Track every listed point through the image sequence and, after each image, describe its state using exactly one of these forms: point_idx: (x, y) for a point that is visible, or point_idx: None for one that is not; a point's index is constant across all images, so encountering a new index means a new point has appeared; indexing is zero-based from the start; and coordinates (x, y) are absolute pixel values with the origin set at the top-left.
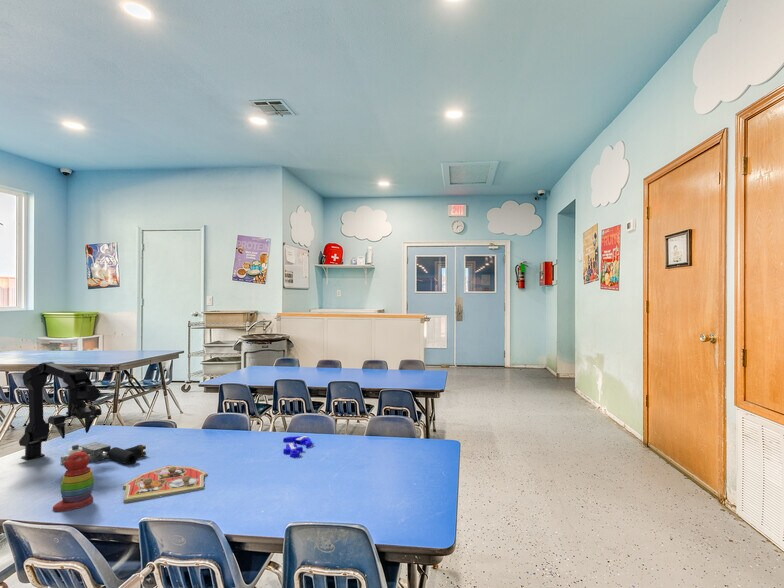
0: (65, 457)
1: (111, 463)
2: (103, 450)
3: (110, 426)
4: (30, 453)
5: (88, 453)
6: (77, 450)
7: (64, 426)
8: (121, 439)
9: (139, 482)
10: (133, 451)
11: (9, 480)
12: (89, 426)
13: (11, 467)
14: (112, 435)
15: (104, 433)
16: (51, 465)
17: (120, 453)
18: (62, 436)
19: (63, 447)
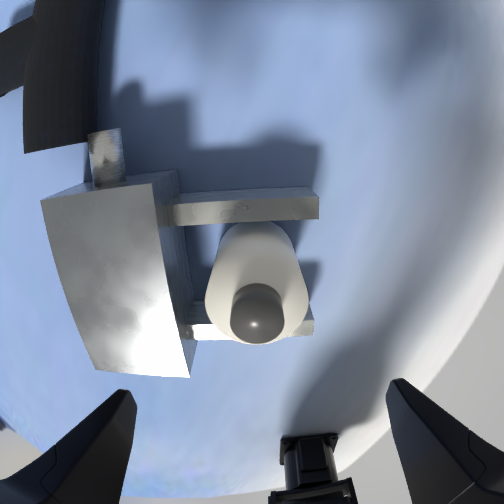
0: None
1: (133, 41)
2: (93, 187)
3: None
4: (328, 455)
5: (174, 253)
6: (262, 256)
7: (484, 488)
8: (28, 380)
9: None
10: (19, 22)
11: (500, 259)
12: (76, 438)
13: None
14: (55, 430)
15: None
16: (343, 318)
17: (74, 3)
18: (416, 398)
19: (198, 460)
